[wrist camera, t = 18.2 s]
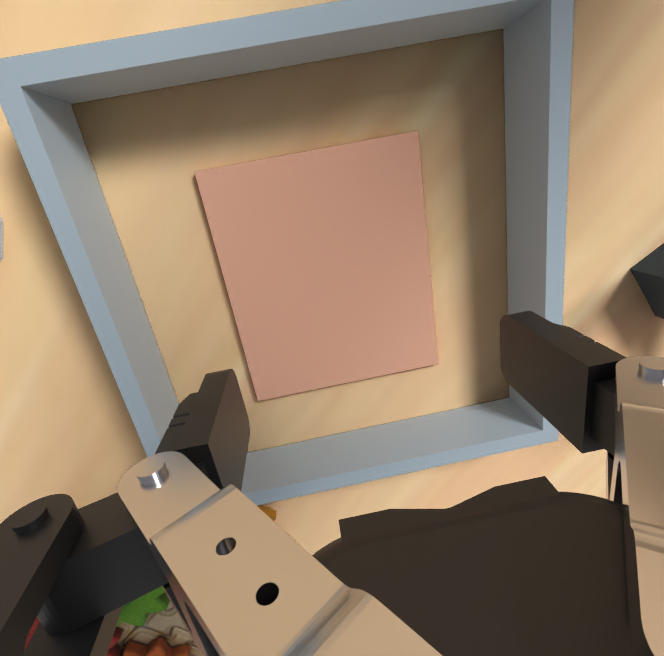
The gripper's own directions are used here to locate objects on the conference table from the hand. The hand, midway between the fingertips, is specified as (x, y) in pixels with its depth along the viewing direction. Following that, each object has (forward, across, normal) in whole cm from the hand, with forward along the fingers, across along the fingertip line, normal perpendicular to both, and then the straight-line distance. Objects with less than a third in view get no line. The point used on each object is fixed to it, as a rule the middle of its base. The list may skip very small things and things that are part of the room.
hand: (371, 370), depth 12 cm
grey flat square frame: (+13, 0, 0) cm, 13 cm away
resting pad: (+13, 0, 0) cm, 13 cm away
